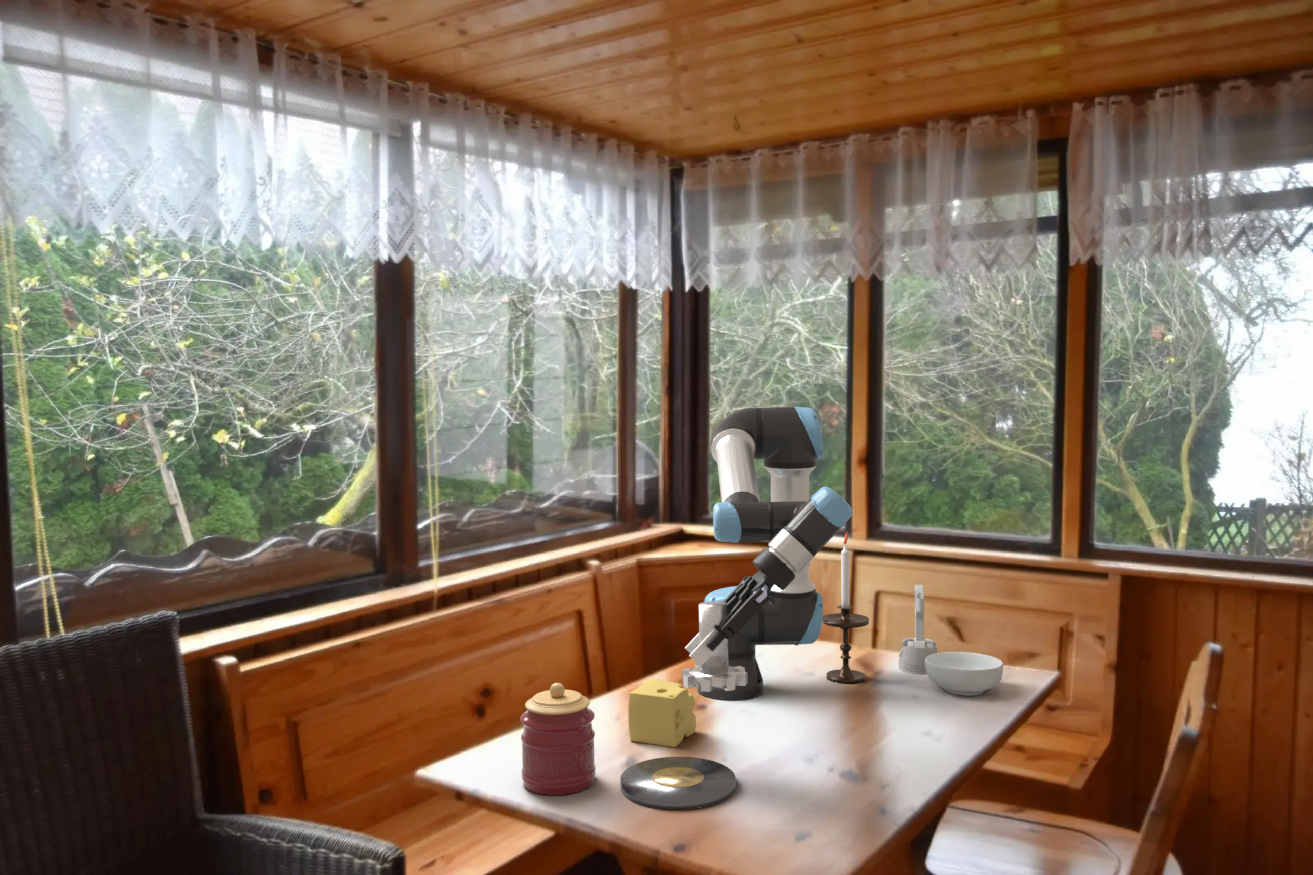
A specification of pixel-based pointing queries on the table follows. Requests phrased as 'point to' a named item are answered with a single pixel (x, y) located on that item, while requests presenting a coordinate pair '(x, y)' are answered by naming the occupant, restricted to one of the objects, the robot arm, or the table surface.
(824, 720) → the table surface
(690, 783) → the carrier plate
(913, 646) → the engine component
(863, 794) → the table surface
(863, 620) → the candlestick
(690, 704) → the cheese
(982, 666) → the cereal bowl
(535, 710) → the canister
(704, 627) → the sun gear
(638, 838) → the table surface
